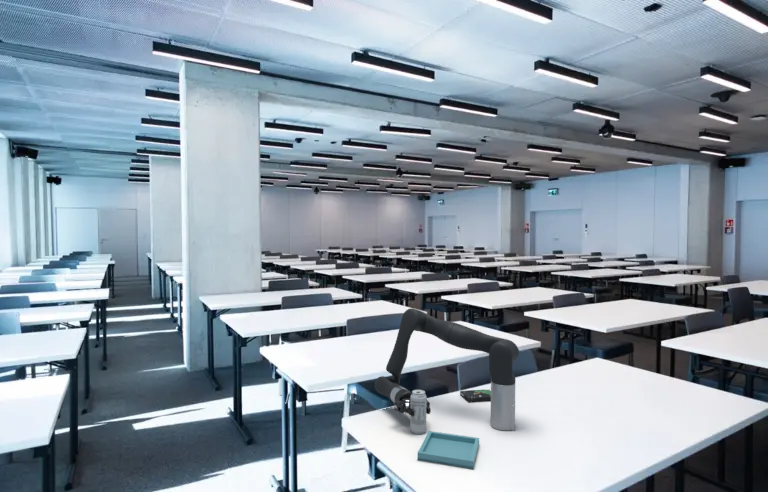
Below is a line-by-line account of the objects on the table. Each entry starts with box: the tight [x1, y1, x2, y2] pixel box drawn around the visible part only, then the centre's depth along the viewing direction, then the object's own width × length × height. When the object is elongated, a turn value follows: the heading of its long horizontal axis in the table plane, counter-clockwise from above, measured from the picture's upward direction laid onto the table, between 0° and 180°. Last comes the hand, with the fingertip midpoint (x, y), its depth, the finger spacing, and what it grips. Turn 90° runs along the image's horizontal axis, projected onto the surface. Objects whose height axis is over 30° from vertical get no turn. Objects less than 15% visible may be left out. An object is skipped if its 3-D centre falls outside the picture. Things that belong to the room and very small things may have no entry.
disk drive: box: [459, 389, 491, 404], centre depth 207 cm, size 10×3×15 cm
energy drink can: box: [409, 389, 428, 435], centre depth 169 cm, size 6×6×15 cm
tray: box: [417, 430, 480, 470], centre depth 152 cm, size 18×18×2 cm
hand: (421, 412), depth 167 cm, fingers closed on energy drink can, 6 cm apart
